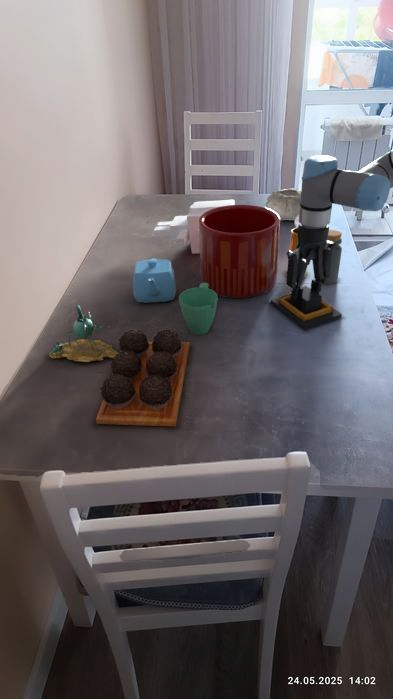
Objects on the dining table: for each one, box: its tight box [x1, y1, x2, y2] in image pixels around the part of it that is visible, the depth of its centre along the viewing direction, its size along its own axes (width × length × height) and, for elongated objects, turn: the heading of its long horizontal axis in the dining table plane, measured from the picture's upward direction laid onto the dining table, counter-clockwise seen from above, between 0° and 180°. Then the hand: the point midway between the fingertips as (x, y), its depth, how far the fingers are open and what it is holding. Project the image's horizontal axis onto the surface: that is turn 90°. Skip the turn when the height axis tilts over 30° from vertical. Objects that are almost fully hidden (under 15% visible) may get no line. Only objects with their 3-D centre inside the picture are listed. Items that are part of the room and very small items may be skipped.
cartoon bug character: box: [48, 305, 120, 363], centre depth 117 cm, size 10×18×15 cm, turn 80°
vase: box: [288, 227, 307, 278], centre depth 146 cm, size 6×6×14 cm
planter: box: [199, 204, 281, 299], centre depth 142 cm, size 23×23×20 cm
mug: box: [178, 282, 219, 336], centre depth 126 cm, size 15×10×10 cm
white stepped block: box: [153, 199, 235, 255], centre depth 167 cm, size 15×25×28 cm
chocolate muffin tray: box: [95, 328, 191, 428], centre depth 108 cm, size 28×17×8 cm, turn 175°
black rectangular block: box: [290, 285, 323, 314], centre depth 131 cm, size 7×5×4 cm
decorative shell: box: [264, 187, 302, 221], centre depth 186 cm, size 18×18×10 cm
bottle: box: [322, 229, 343, 285], centre depth 142 cm, size 6×6×15 cm
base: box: [269, 293, 343, 331], centre depth 132 cm, size 16×12×2 cm
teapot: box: [132, 257, 177, 304], centre depth 138 cm, size 12×18×12 cm
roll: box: [293, 215, 300, 228], centre depth 174 cm, size 6×12×6 cm, turn 178°
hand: (305, 305), depth 132 cm, fingers closed on black rectangular block, 5 cm apart
